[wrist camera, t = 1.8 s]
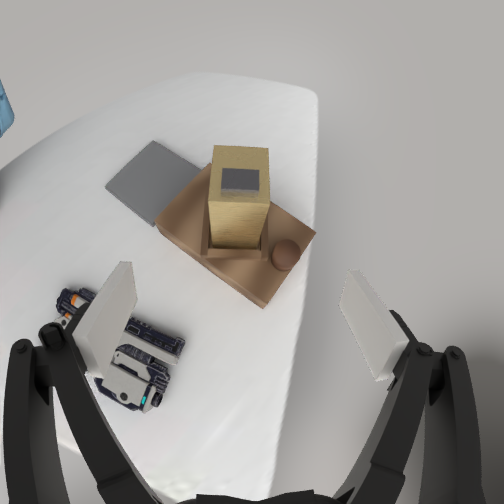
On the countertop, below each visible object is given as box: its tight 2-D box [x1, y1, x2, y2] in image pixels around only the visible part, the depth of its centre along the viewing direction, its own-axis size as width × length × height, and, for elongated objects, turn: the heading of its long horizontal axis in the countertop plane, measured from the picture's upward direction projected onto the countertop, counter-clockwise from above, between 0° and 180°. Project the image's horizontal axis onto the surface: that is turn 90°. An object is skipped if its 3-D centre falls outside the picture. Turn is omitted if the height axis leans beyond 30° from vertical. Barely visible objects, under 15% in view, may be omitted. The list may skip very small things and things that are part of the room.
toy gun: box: [54, 288, 185, 413], centre depth 29 cm, size 3×20×15 cm
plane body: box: [154, 163, 316, 309], centre depth 34 cm, size 17×11×6 cm
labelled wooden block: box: [208, 145, 270, 250], centre depth 28 cm, size 5×6×12 cm
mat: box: [105, 141, 202, 227], centre depth 39 cm, size 11×11×1 cm
